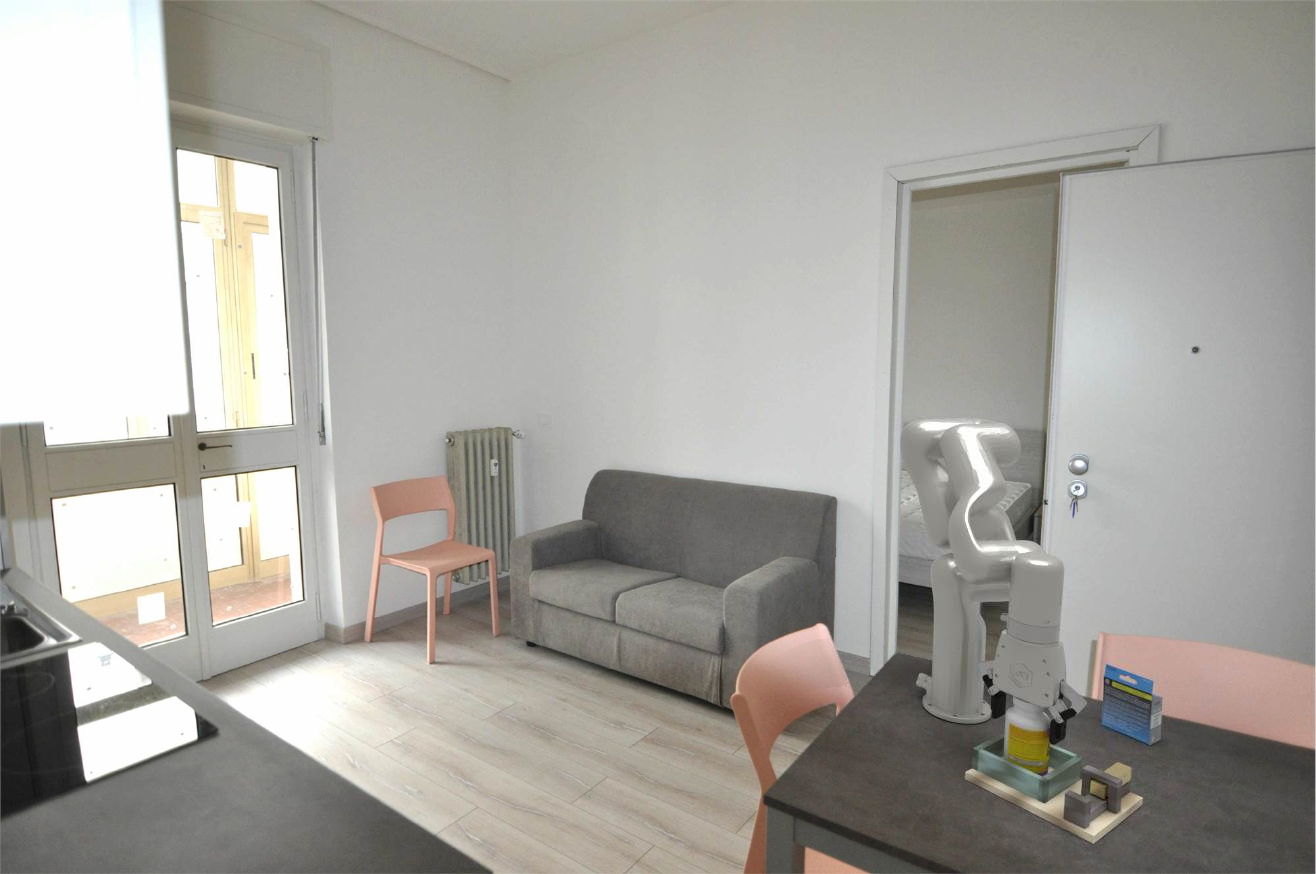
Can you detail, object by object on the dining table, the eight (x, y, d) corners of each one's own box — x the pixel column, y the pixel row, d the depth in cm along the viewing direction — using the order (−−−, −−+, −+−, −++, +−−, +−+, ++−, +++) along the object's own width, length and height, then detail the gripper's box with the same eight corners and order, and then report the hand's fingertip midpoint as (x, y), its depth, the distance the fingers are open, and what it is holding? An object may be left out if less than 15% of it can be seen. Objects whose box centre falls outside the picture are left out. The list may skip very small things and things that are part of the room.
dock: (964, 779, 120) (966, 743, 119) (1016, 749, 129) (1018, 716, 128) (1093, 843, 104) (1096, 803, 103) (1142, 804, 113) (1144, 767, 112)
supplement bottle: (1053, 785, 116) (1058, 708, 115) (1009, 781, 117) (1013, 705, 116) (1040, 763, 122) (1044, 690, 121) (998, 759, 124) (1001, 686, 122)
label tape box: (1161, 741, 132) (1166, 676, 131) (1149, 746, 130) (1153, 680, 129) (1112, 720, 140) (1116, 658, 139) (1099, 725, 138) (1103, 662, 137)
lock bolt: (1090, 792, 111) (1090, 780, 111) (1116, 773, 116) (1117, 761, 116) (1104, 799, 109) (1104, 786, 109) (1130, 779, 114) (1131, 767, 114)
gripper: (970, 618, 122) (964, 713, 124) (1077, 653, 108) (1069, 760, 110) (995, 608, 126) (989, 701, 129) (1101, 641, 112) (1092, 745, 115)
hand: (1026, 728), depth 120 cm, fingers open, 9 cm apart
